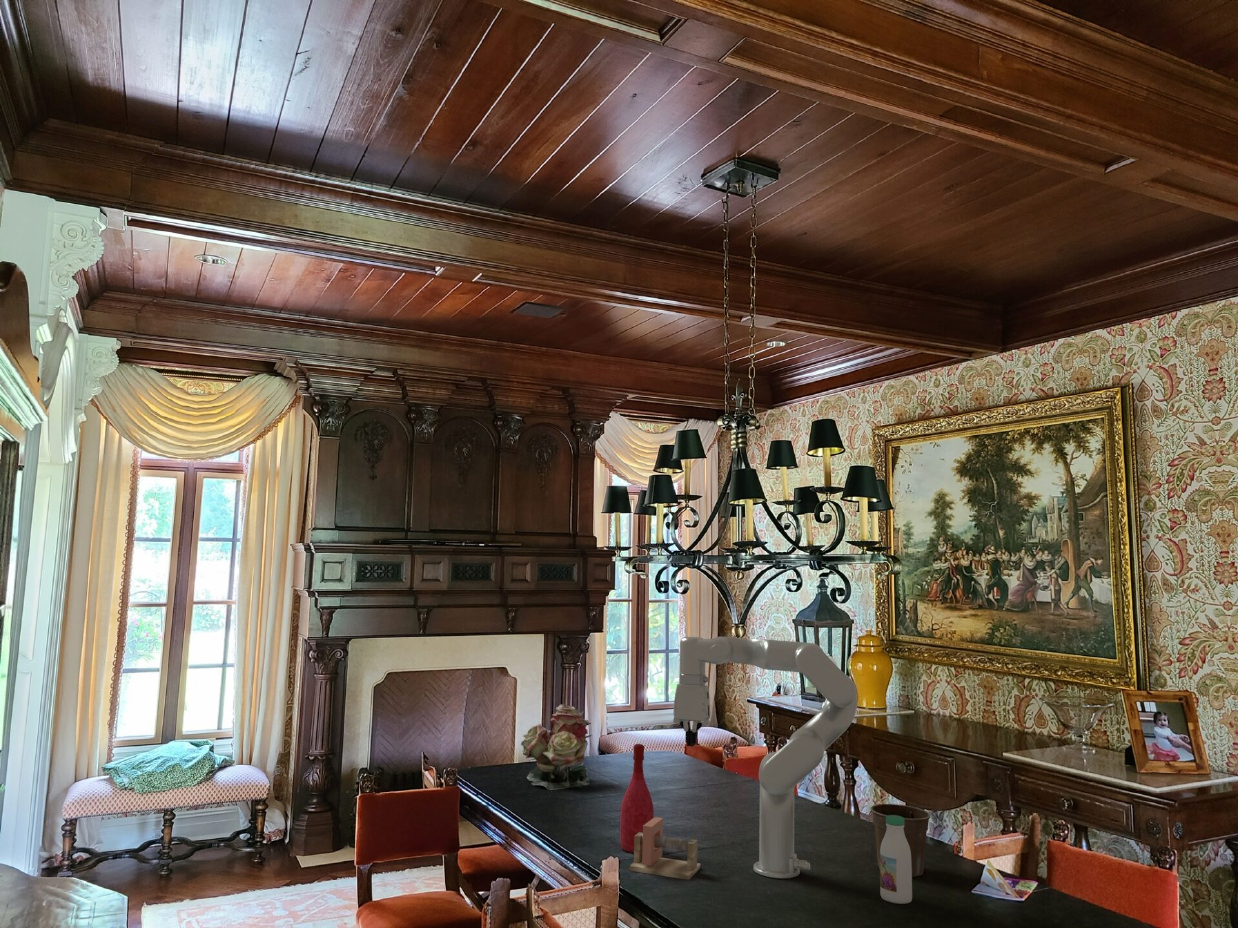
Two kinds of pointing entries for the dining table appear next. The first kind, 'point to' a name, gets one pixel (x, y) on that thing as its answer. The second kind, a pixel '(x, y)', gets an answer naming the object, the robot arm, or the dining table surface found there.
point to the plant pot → (913, 830)
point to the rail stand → (663, 864)
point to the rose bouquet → (558, 750)
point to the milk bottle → (895, 863)
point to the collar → (651, 841)
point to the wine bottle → (635, 803)
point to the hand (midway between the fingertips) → (691, 745)
